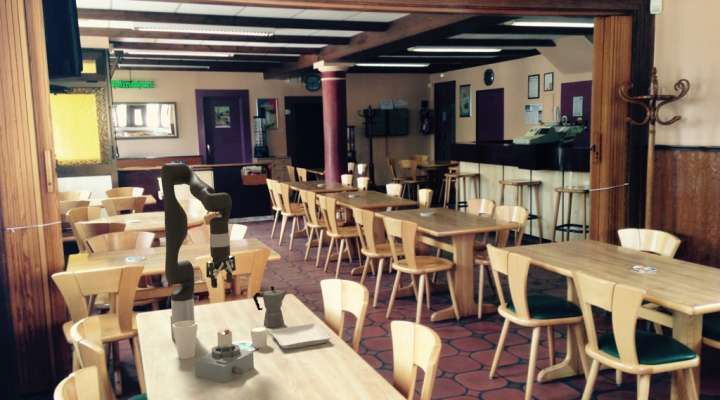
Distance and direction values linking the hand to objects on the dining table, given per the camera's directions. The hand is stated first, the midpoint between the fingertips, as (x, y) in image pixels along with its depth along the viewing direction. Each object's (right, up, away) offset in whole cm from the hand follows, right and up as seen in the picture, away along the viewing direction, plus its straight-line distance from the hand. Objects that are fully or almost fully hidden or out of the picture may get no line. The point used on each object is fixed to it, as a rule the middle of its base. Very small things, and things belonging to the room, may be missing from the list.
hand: (222, 285), depth 247 cm
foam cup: (-15, -29, +3) cm, 32 cm away
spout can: (+4, -24, -13) cm, 27 cm away
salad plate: (+29, -26, +18) cm, 43 cm away
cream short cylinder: (+13, -27, +12) cm, 32 cm away
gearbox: (+6, -30, -15) cm, 34 cm away
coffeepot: (+14, -24, +39) cm, 48 cm away
